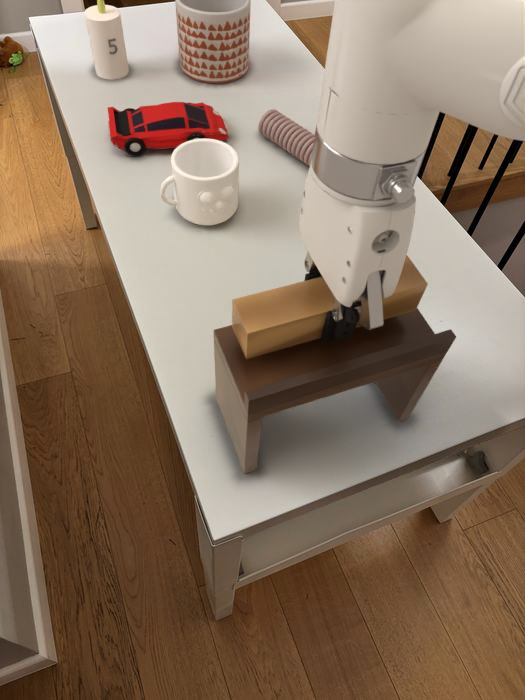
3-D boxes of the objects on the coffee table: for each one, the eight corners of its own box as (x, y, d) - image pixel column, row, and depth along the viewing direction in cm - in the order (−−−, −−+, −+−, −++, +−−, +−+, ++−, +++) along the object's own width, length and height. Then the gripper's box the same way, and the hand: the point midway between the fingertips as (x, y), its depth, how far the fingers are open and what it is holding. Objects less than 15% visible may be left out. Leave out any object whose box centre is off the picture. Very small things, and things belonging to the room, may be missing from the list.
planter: (198, 91, 102) (195, 19, 92) (168, 57, 109) (162, -14, 98) (260, 75, 107) (264, 5, 96) (228, 43, 113) (228, -26, 103)
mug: (175, 243, 79) (170, 193, 72) (152, 200, 84) (145, 149, 77) (249, 222, 82) (252, 173, 75) (223, 182, 88) (223, 132, 80)
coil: (355, 153, 86) (277, 104, 93) (336, 162, 84) (258, 110, 91) (347, 178, 90) (273, 129, 97) (329, 187, 88) (254, 136, 95)
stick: (415, 310, 54) (428, 283, 50) (246, 359, 49) (247, 333, 46) (396, 282, 56) (407, 254, 52) (231, 326, 51) (232, 299, 48)
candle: (102, 83, 102) (85, -5, 90) (91, 66, 105) (73, -21, 93) (134, 76, 104) (121, -11, 92) (121, 60, 107) (108, -26, 95)
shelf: (408, 417, 64) (456, 336, 51) (244, 474, 59) (248, 400, 46) (370, 352, 70) (404, 263, 56) (215, 399, 65) (212, 313, 51)
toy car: (232, 147, 93) (233, 120, 89) (115, 163, 89) (110, 136, 85) (218, 113, 99) (217, 86, 94) (107, 126, 94) (101, 99, 90)
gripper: (480, 222, 34) (402, 376, 49) (360, 83, 42) (325, 250, 58) (375, 248, 32) (327, 399, 47) (272, 97, 41) (259, 266, 56)
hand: (326, 316), depth 52 cm, fingers closed on stick, 4 cm apart
